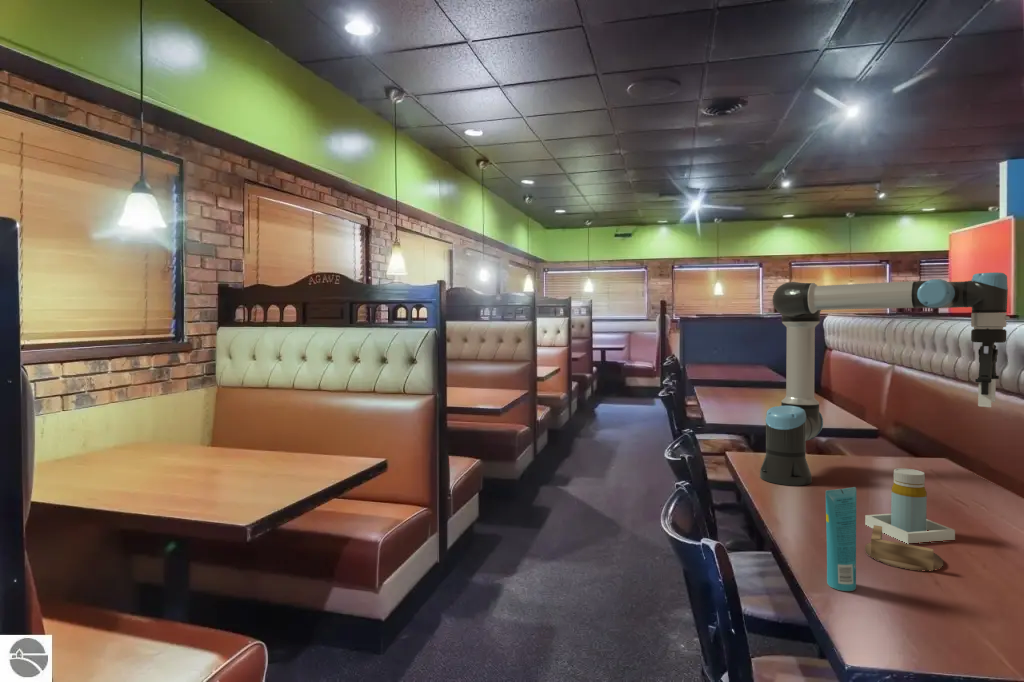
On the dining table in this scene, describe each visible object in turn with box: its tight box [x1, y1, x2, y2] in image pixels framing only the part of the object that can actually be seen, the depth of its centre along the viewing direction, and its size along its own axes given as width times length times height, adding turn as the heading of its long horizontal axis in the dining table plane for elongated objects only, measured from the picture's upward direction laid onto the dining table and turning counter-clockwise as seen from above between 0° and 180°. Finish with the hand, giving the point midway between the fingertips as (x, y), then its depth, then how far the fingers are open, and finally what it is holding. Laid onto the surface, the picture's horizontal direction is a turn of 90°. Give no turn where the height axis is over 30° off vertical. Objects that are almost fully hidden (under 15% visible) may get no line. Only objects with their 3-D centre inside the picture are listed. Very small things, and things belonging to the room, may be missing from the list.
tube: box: [825, 486, 857, 592], centre depth 109 cm, size 7×5×19 cm, turn 112°
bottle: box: [890, 467, 928, 532], centre depth 136 cm, size 7×7×15 cm
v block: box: [864, 525, 944, 572], centre depth 122 cm, size 14×15×4 cm
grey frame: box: [864, 513, 956, 545], centre depth 136 cm, size 13×13×2 cm
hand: (986, 404), depth 157 cm, fingers open, 13 cm apart
